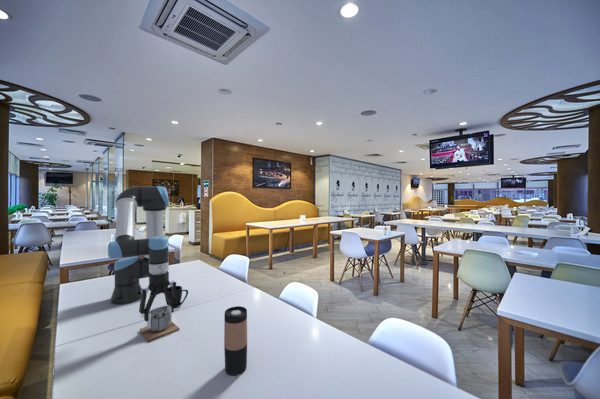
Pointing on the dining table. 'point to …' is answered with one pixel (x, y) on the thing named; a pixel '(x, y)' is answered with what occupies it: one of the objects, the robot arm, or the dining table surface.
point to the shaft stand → (158, 334)
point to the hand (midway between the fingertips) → (159, 323)
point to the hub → (159, 322)
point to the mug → (179, 295)
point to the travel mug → (235, 340)
